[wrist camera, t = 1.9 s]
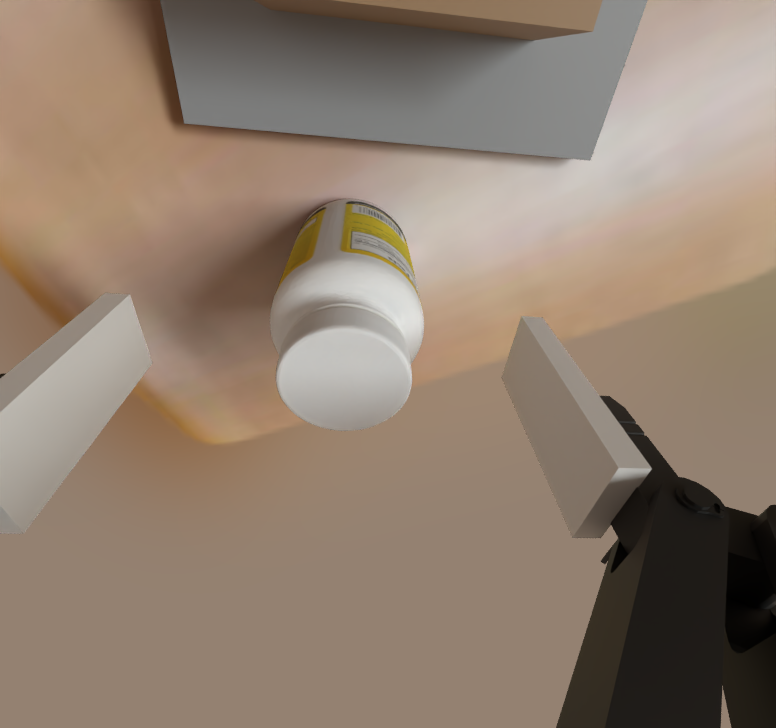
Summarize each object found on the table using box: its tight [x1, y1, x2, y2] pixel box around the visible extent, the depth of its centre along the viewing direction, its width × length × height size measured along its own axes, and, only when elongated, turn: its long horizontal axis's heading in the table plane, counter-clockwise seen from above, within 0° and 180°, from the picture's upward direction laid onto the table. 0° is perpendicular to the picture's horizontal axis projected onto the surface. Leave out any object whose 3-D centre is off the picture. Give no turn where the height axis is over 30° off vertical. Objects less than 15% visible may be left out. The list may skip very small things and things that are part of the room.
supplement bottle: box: [270, 199, 424, 431], centre depth 15 cm, size 5×5×10 cm
